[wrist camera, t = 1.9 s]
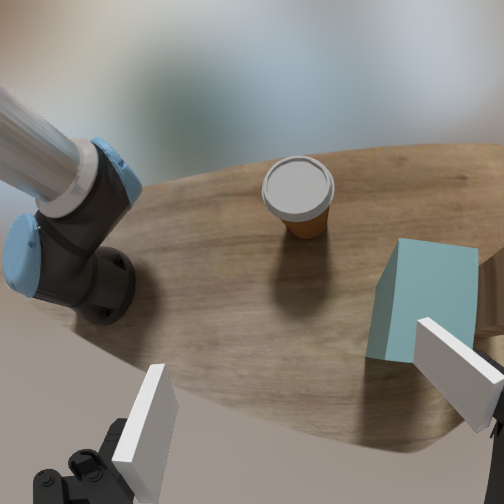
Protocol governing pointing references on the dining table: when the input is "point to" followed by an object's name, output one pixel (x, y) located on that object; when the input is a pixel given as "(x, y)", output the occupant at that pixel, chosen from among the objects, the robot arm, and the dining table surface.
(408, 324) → the teal block
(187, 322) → the dining table surface
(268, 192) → the disposable coffee cup
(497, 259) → the walnut stand
